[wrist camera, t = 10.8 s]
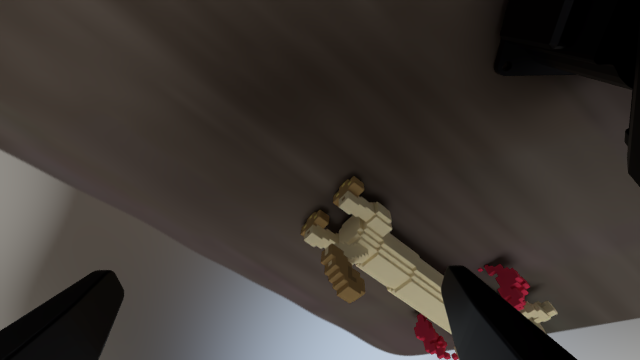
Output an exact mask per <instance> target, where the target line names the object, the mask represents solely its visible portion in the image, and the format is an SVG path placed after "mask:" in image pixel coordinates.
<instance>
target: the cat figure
mask: <svg viewBox="0 0 640 360" xmlns="http://www.w3.org/2000/svg"><path fill="white" fill-rule="evenodd" d="M363 191H364V183H362V182H361V181H360V180H359V179H357V178H356V177H355V176H353V177H352V178H351V179H350V180H348V179H347V180H346V181H345V182H344V183H343V184H342V185H341V186H340V187H339V191H338V192H337V193H336V194H335V195H334V196H333V203H334V204H335V205H337V206H338V207H339V208H341V209H342V210H343V211H345V212H346V213H347V214H349V215H350V214H352V216H351V217H350V218H349V219H348V220H347V221H346V222H345V223H344V224H343V225H342V228H341V229H340V230H339V233H335V234H334V233H333V232H331V231H330V230H328V229H326V230H325V229H324V228H325V227H326V226H327V225H328V224H329V216H328V215H327V214H326V213H324V212H323V211H322V210H319V211H318V212H314V213H313V214H312V215H311V216H310V217H309V218H308V219H307V222H306V223H305V224H304V225H303V226H302V230H301V235H302V236H304V241H305V242H307V243H308V244H310V245H311V246H313V247H315V246H317V247H319V248H320V249H322V248H325V250H323V251H322V256H321V263H322V264H323V265H325V274H326V275H327V276H329V281H330V282H331V283H333V289H335V290H337V296H339V297H340V298H342V299H343V300H345V301H346V302H348V303H351V302H353V301H355V300H357V299H358V298H359V297H361V296H362V295H363V294H365V284H364V280H363V279H362V278H360V273H359V272H357V271H356V270H354V269H353V268H352V265H353V264H356V266H357V267H358V268H360V269H361V270H363V271H364V272H366V273H367V274H369V275H370V276H371V277H373V278H374V279H376V280H377V281H379V282H380V283H382V284H383V285H385V286H386V287H387V291H389V292H390V293H392V294H393V295H395V296H396V297H398V298H399V299H401V300H402V301H404V302H405V303H407V304H408V305H409V306H411V307H412V308H414V309H415V310H417V311H418V312H420V313H421V314H419V315H417V318H418V322H417V323H416V327H414V330H415V334H416V337H417V338H418V339H420V340H422V341H423V342H424V346H425V350H426V351H427V352H428V353H430V354H434V353H436V354H437V357H438V358H439V359H441V358H443V357H444V358H445V359H450V358H451V357H450V354H449V353H446V352H445V351H446V350H445V348H446V346H447V343H446V342H445V341H444V339H443V337H442V336H439V335H438V334H437V333H436V332H435V329H434V328H433V326H432V323H431V322H429V321H428V320H426V319H427V318H428V319H430V320H431V321H433V322H434V323H436V324H437V325H439V326H440V327H442V328H443V329H445V330H446V331H447V332H449V333H450V334H452V333H451V329H450V325H449V321H448V317H447V313H446V310H445V306H444V302H443V298H442V294H441V285H442V281H443V278H444V276H443V275H442V274H441V273H439V272H438V271H437V270H435V269H434V268H433V267H431V266H430V265H429V264H427V263H426V262H425V261H423V260H422V259H421V258H420V257H419V255H418V254H417V253H415V252H414V251H413V250H411V249H410V248H409V247H408V246H406V245H405V244H404V243H402V242H401V241H400V240H398V239H397V238H396V237H394V236H393V235H392V234H390V231H391V230H392V225H391V222H392V219H391V215H390V211H389V210H388V209H386V208H385V207H384V206H382V205H381V204H380V203H379V202H376V203H375V202H373V203H372V202H370V203H369V202H368V201H367V200H365V199H364V198H363V197H362V196H361V197H359V195H360V194H361V193H362V192H363ZM484 267H485V269H486V271H487V273H488V274H489V275H490V276H492V275H494V274H496V273H497V274H498V277H497V278H495V279H496V280H497V282H498V284H499V285H500V288H499V289H497V290H498V291H499V293H500V295H501V297H502V298H504V299H505V300H506V301H507V302H508V303H510V304H511V305H512V306H513V307H514V308H516V309H517V310H518V311H519V312H521V313H522V314H523V315H524V316H525V317H527V318H528V319H529V320H530V321H531V322H533V323H534V324H535V325H536V326H537V327H539V328H540V329H541V330H542V331H543V332H545V331H544V329H543V327H542V326H541V324H540V322H542V321H544V322H545V321H547V320H549V319H551V317H552V316H554V315H556V314H558V312H557V311H556V310H555V308H554V307H553V306H552V304H551V303H550V302H548V301H545V302H543V303H540V302H539V301H537V302H536V303H534V304H531V303H530V304H529V302H527V301H526V302H525V299H524V297H525V295H527V294H529V293H528V291H527V290H526V289H528V288H529V287H530V285H529V284H528V282H527V281H526V280H525V279H524V278H522V277H520V275H519V274H518V272H517V271H516V270H514V269H513V268H511V269H509V268H507V267H506V268H505V269H504V267H503V266H502V265H501V264H499V265H497V266H495V267H493V266H492V265H491V266H490V267H489V266H488V265H485V266H484ZM478 271H479V272H481V271H483V269H482V268H479V269H478ZM545 333H546V332H545ZM454 349H455V352H456V354H455V353H453V354H452V358H453V359H454V360H457V359H459V357H458V354H457V351H456V348H455V347H454Z"/></svg>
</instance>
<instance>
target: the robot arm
mask: <svg viewBox="0 0 640 360" xmlns="http://www.w3.org/2000/svg"><path fill="white" fill-rule="evenodd" d="M500 35H501V37H502V39H501V43H500V46H499V50H498V54H497V58H496V61H495V65H494V70H495V72H496V73H497V74H500V75H503V76H524V75H576V74H577V75H581V76H584V77H588V78H591V79H595V80H598V81H602V82H605V83H609V84H612V85H616V86H620V87H623V88H627V89H630V90H633V91H632V101H631V112H630V123H629V128H628V129H626V131H625V143H626V145H627V146H628V152H627V164H628V173H629V175H630V176H631V177H632V178H633V179H634V181H635V182H636V183H637V184H638V185H639V187H640V0H509V2H508V6H507V10H506V14H505V17H504V21H503V25H502V29H501V33H500ZM506 62H508V66H507V68H505V69H504V70H503V65H504V63H506ZM441 294H442V298H443V302H444V306H445V310H446V313H447V317H448V321H449V325H450V329H451V333H452V336H453V340H454V344H455V348H456V351H457V354H458V357H459V360H577V359H576V358H575V357H573V356H572V355H571V354H570V353H569V352H568V351H566V350H565V349H564V348H563V347H562V346H560V345H559V344H558V343H557V342H555V341H554V340H553V339H552V338H551V337H549V336H548V335H547V334H546V333H545V332H543V331H542V330H541V329H540V328H539V327H537V326H536V325H535V324H534V323H533V322H531V321H530V320H529V319H528V318H527V317H525V316H524V315H523V314H522V313H521V312H519V311H518V310H517V309H516V308H514V307H513V306H512V305H511V304H510V303H508V302H507V301H506V300H505V299H504V298H502V297H501V296H500V295H499V294H498V293H496V292H495V291H494V290H493V289H492V288H490V287H489V286H488V285H487V284H486V283H484V282H483V281H482V280H481V279H480V278H478V277H477V276H476V275H475V274H474V273H472V272H471V271H470V270H469V269H467V268H466V267H464V266H461V265H458V266H448V267H447V268H446V271H445V274H444V278H443V281H442V285H441ZM123 298H124V289H123V287H122V286H121V284H120V282H119V280H118V278H117V276H116V274H115V273H114V272H113V271H111V270H97V271H94V272H92V273H90V274H89V275H87V276H86V277H84V278H82V279H81V280H79V281H78V282H76V283H75V284H73V285H72V286H70V287H68V288H67V289H65V290H64V291H62V292H61V293H59V294H57V295H56V296H54V297H53V298H51V299H49V300H48V301H46V302H45V303H43V304H42V305H40V306H39V307H37V308H35V309H34V310H32V311H31V312H29V313H28V314H26V315H24V316H23V317H21V318H20V319H18V320H17V321H15V322H14V323H12V324H10V325H9V326H7V327H6V328H4V329H2V330H1V331H0V360H98V359H99V357H100V355H101V353H102V350H103V348H104V346H105V343H106V341H107V338H108V336H109V333H110V331H111V328H112V326H113V323H114V321H115V318H116V316H117V313H118V311H119V308H120V306H121V303H122V301H123Z"/></svg>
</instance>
